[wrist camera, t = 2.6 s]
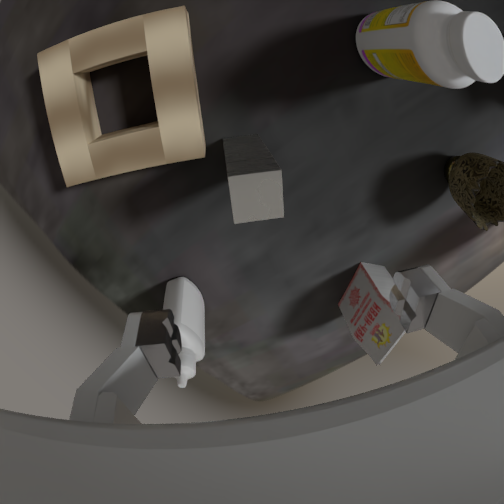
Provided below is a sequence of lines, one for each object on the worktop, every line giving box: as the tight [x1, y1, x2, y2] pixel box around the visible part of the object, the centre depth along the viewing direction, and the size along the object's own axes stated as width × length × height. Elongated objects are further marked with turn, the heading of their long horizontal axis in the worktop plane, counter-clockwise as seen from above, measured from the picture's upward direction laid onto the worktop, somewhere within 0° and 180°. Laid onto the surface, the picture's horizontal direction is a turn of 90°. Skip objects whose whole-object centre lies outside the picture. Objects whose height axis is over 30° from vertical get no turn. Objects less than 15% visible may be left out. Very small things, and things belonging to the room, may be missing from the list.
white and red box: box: [338, 262, 406, 365], centre depth 32 cm, size 4×7×10 cm, turn 165°
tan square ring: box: [37, 6, 206, 187], centre depth 20 cm, size 12×12×4 cm
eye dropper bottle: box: [163, 277, 205, 388], centre depth 29 cm, size 4×6×12 cm
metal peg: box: [223, 134, 284, 224], centre depth 21 cm, size 3×3×10 cm
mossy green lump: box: [444, 153, 504, 231], centre depth 25 cm, size 8×7×8 cm
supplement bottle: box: [356, 1, 504, 89], centre depth 15 cm, size 7×7×13 cm
